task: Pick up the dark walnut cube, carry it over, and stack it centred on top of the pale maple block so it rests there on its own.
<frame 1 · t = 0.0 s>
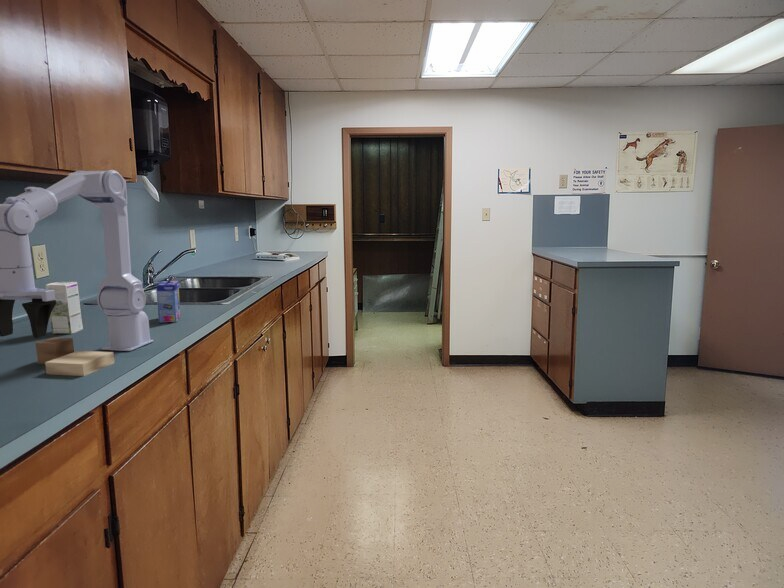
hand: (23, 336, 94), 10 cm above the table, tool pointing down, fingers open, 7 cm apart
ink cartridge box: (170, 320, 154), on the table
maple block: (81, 370, 106), on the table
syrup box: (67, 332, 139), on the table
walnut cube: (56, 361, 111), on the table
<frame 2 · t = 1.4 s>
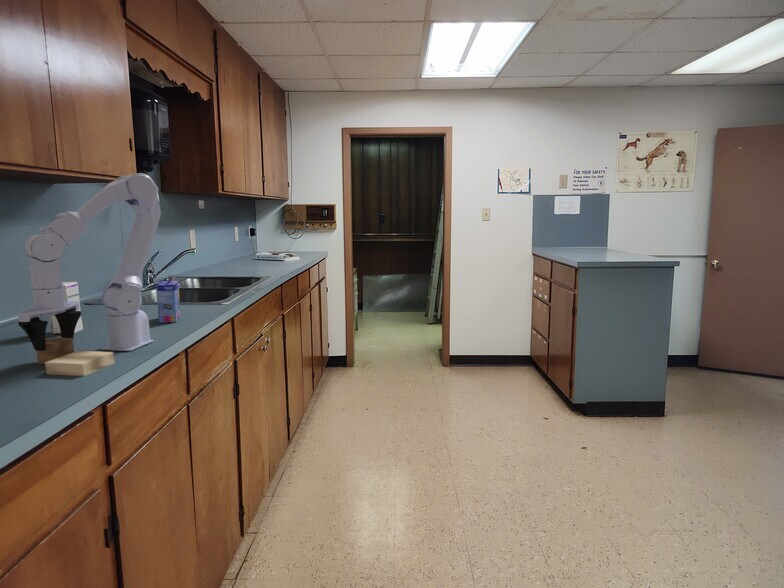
hand: (54, 345, 110), 4 cm above the table, tool pointing down, fingers open, 7 cm apart
nothing on the table moved.
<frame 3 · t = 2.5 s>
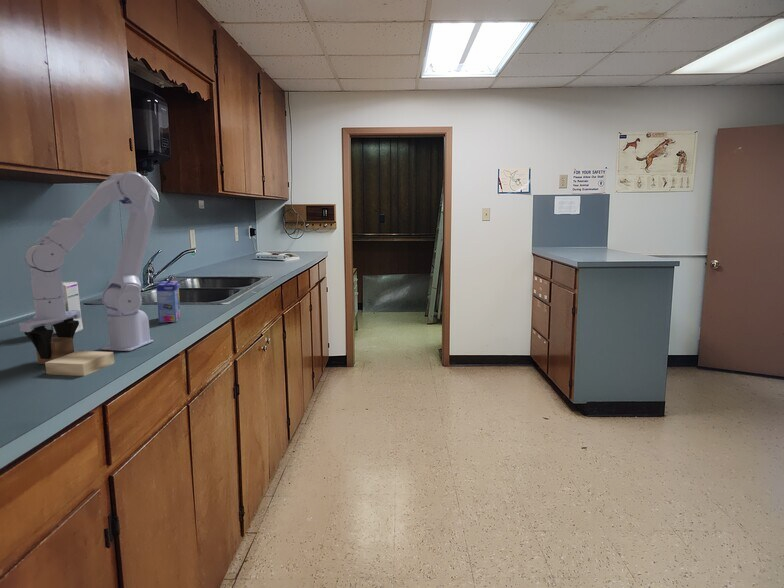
hand: (56, 354, 111), 1 cm above the table, tool pointing down, fingers closed on walnut cube, 5 cm apart
walnut cube: (56, 360, 111), on the table, touching gripper
everything else where it was.
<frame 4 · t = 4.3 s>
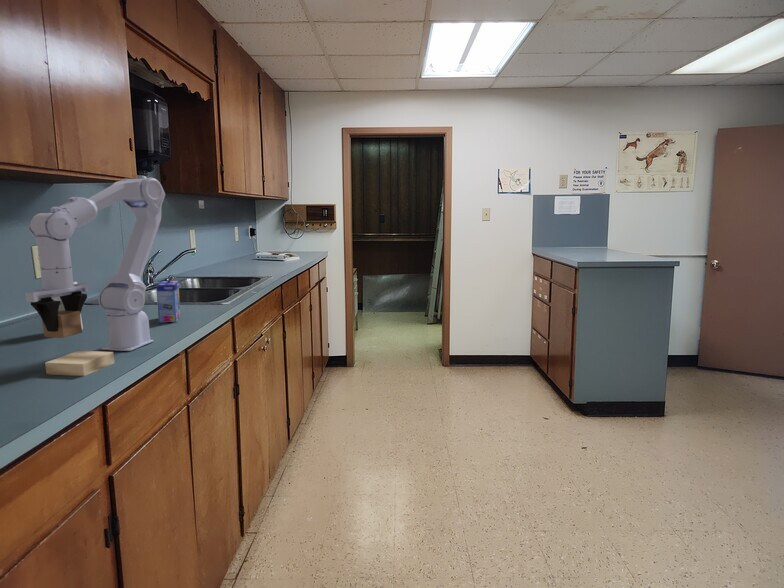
hand: (63, 328, 107), 8 cm above the table, tool pointing down, fingers closed on walnut cube, 5 cm apart
walnut cube: (63, 334, 108), point 7 cm above the table, touching gripper
everything else where it was.
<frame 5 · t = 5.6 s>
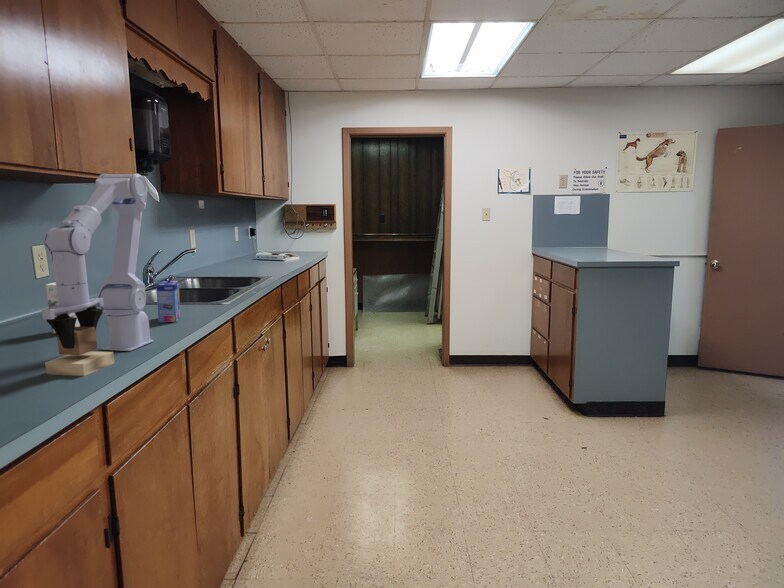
hand: (79, 344, 105), 5 cm above the table, tool pointing down, fingers closed on walnut cube, 5 cm apart
walnut cube: (78, 351, 105), point 4 cm above the table, touching gripper
everything else where it was.
when the fingers open (5 cm above the table, at t = 6.1 s): walnut cube drops 1 cm, resting on maple block.
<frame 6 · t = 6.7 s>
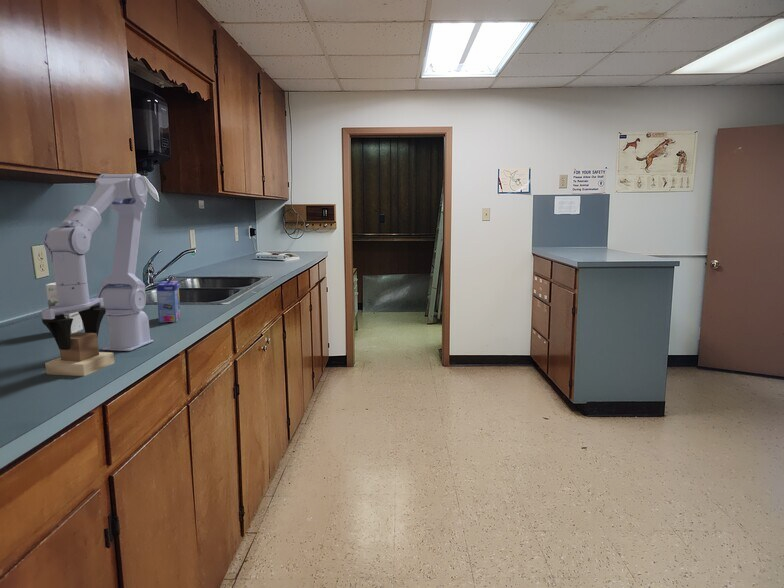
hand: (78, 344, 105), 5 cm above the table, tool pointing down, fingers open, 7 cm apart
maple block: (81, 370, 106), on the table, touching walnut cube
walnut cube: (80, 357, 105), point 2 cm above the table, touching maple block
everything else where it was.
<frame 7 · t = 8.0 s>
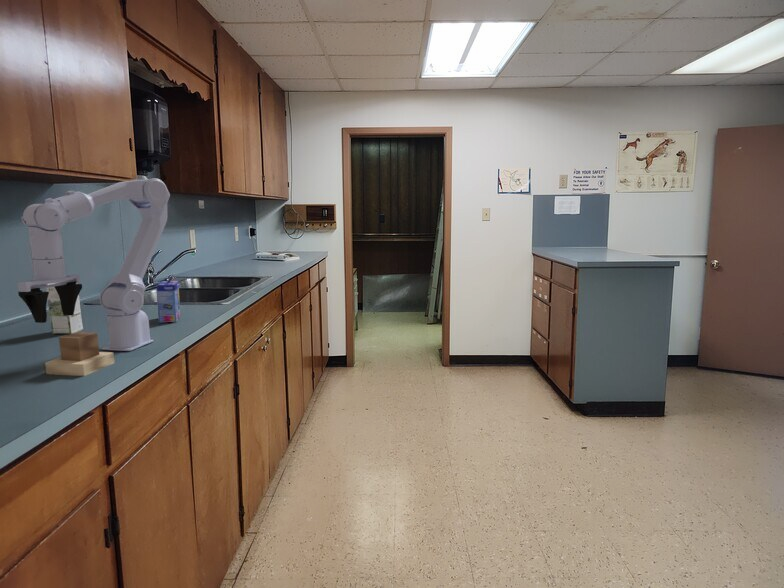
hand: (55, 318, 108), 10 cm above the table, tool pointing down, fingers open, 7 cm apart
nothing on the table moved.
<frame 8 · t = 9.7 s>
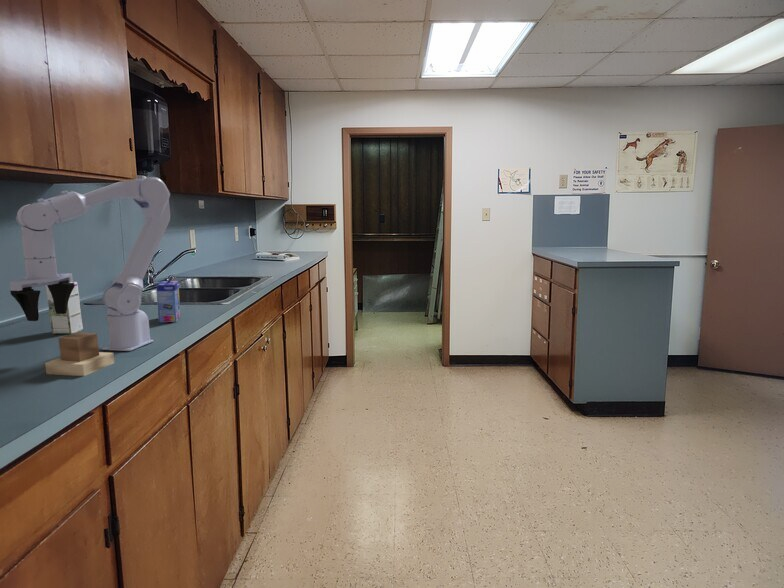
hand: (47, 317, 110), 10 cm above the table, tool pointing down, fingers open, 7 cm apart
nothing on the table moved.
at the end: walnut cube 0.1 cm off-centre on the maple block, point 3.0 cm above the maple block's base; walnut cube tilted 0°; walnut cube touching maple block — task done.
